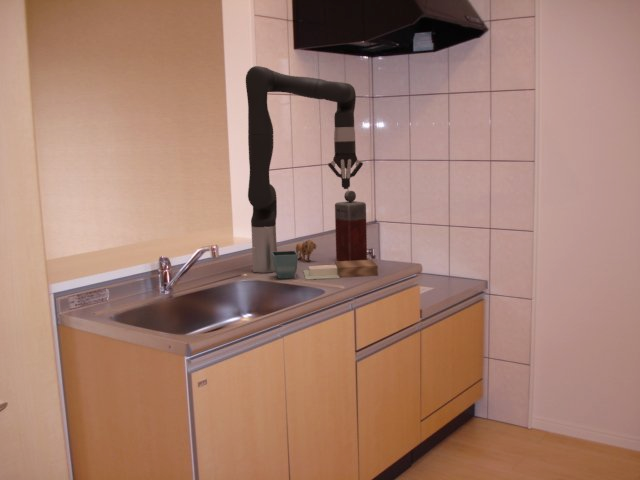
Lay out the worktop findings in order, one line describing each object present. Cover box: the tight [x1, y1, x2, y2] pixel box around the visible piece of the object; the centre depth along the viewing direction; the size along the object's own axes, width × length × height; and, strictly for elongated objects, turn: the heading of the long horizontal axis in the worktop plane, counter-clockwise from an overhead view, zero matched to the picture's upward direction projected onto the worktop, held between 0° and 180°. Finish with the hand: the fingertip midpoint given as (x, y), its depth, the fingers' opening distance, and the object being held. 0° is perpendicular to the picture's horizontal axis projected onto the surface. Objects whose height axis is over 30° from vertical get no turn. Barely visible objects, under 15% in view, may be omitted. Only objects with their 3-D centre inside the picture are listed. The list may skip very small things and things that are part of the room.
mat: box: [302, 269, 341, 281], centre depth 263 cm, size 12×16×1 cm
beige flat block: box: [308, 264, 338, 276], centre depth 263 cm, size 10×6×2 cm, turn 94°
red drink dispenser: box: [334, 190, 368, 261], centre depth 287 cm, size 9×11×28 cm
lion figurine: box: [295, 239, 318, 263], centre depth 292 cm, size 15×5×9 cm, turn 36°
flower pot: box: [271, 250, 299, 280], centre depth 259 cm, size 9×9×9 cm
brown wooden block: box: [334, 259, 379, 278], centre depth 264 cm, size 14×12×4 cm
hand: (345, 188), depth 259 cm, fingers closed
